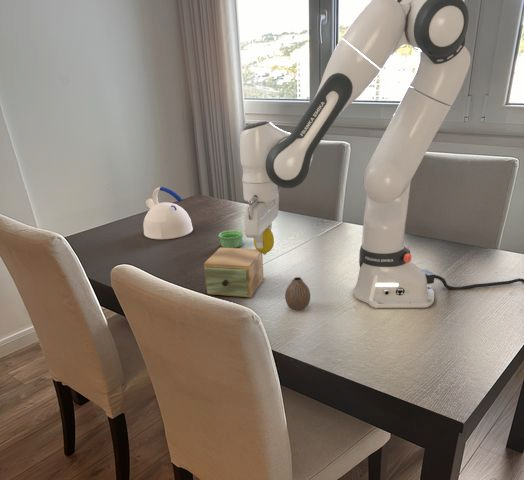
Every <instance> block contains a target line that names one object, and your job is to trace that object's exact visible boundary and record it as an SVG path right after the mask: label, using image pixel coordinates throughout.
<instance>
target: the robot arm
mask: <svg viewBox="0 0 524 480" xmlns="http://www.w3.org/2000/svg"><path fill="white" fill-rule="evenodd" d="M469 19H470V15H469V9H468V6H467V4H466V2H465V1H464V0H370V1H368V2H367V4H365V6H364V7H363V8H362V9H361V11H359V13H358V14H357V15H356V17H355V18H354V19H353V21H352V22H351V23H350V25H349V26H348V28H347V29H346V30H345V31H344V33H343V35H342V37H341V38H340V40H338V43H337V44H336V46H335V48H334V50H333V52H332V53H331V56H330V57H329V60H328V62H327V64H326V67H325V69H324V72H323V75H322V78H321V81H320V84H319V86H318V89H317V92H316V93H315V96H314V98H313V99H312V102H310V104H309V106H308V108H307V109H306V111H305V112H304V114H303V115H302V117H301V119H300V120H299V121H298V123H297V124H296V126H295V128H294V129H293V130H292V131H291V132H289V131H286V130H283V129H281V128H279V127H277V126H276V125H274V124H273V123H272V122H271V121H268V120H262V121H259V122H254V123H252V124H248V125H246V126H245V127H244V128H243V129H242V131H241V132H240V134H239V135H240V136H239V159H240V165H241V169H242V178H241V183H242V193H243V200H244V201H245V202H247V203H248V204H247V205H246V206H245V208H244V213H243V223H244V224H243V225H244V235H245V237H246V238H251V239H253V240H254V239H255V241H256V247H257V248H259V249H262V248H263V247H264V240H263V238H262V236H263V232H264V231H265V230H266V229H267V228H269V229H270V230H271V231H272V227H273V222H274V221H275V219H277V217H278V215H279V208H280V206H279V205H280V195H279V192H280V191H281V188H283V189H293V188H295V187H298V186H300V185H301V184H303V183H304V181H305V180H306V178H307V176H308V173H309V170H310V167H311V166H312V164H313V163H312V162H313V160H314V153H315V151H316V149H317V147H318V146H319V144H320V143H321V141H322V140H323V138H324V137H325V136H326V134H327V133H328V131H329V130H330V128H331V126H332V125H333V124H334V122H335V121H336V120H337V119H338V117H339V116H340V115H341V114H342V113H343V112H344V110H346V109H347V108H348V107H349V106H350V105H351V104H352V103H354V102H355V101H356V100H357V99H358V98H359V97H360V96H361V95H362V94H363V93H364V92H365V91H366V90H367V89H368V88H369V87H370V85H371V84H372V83H373V82H374V81H375V80H376V78H377V77H378V76H379V75H380V73H381V72H382V70H383V68H384V67H385V65H386V64H387V63H388V61H389V59H391V56H393V55H394V54H395V52H396V51H397V50H399V49H401V48H402V47H404V46H406V45H408V46H410V47H411V48H412V49H414V50H416V51H419V52H418V53H419V60H418V64H417V68H416V71H415V73H414V74H413V76H412V77H411V80H410V82H409V83H408V85H407V88H406V89H405V92H404V93H403V96H402V98H401V100H400V101H399V104H398V105H397V108H396V110H395V111H394V113H393V116H392V117H391V119H390V121H389V124H388V125H387V127H386V129H385V131H384V133H383V134H382V137H381V139H380V141H379V143H378V144H377V147H376V148H375V150H374V152H373V154H372V155H371V158H370V159H369V162H368V163H367V166H366V168H365V169H364V172H363V176H362V177H363V178H362V183H363V184H362V185H363V189H364V192H365V194H366V199H365V207H364V214H363V221H362V238H361V245H360V248H359V253H358V254H359V255H358V256H359V257H358V263H359V269H358V270H359V271H358V274H357V275H358V276H357V280H356V283H355V287H354V289H353V296H354V297H355V298H356V299H358V300H359V301H361V302H363V303H366V304H367V305H369V306H370V307H372V308H374V309H386V308H387V309H393V308H394V309H408V308H409V309H411V308H412V309H418V308H419V309H422V308H423V309H424V308H429V307H431V306H432V305H433V304H434V302H435V290H434V289H433V287H431V286H430V285H432V284H434V283H435V279H437V280H439V281H440V282H442V285H443V287H444V288H445V289H448V290H451V291H454V290H458V291H459V290H469V289H474V288H484V287H485V288H486V287H494V286H495V287H496V286H502V285H503V286H504V285H511V284H515V283H523V284H524V278H515V279H510V280H505V281H494V282H484V283H473V284H468V285H464V286H451V285H449V284H448V283H447V281H446V279H445V278H444V277H442V276H441V275H438V274H435V273H433V272H432V271H430V270H429V269H428V268H423V269H422V268H420V267H419V266H417V265H416V264H415V263H413V261H412V254H411V250H410V247H409V246H407V247H406V246H405V245H404V243H405V231H406V223H407V215H408V208H409V207H408V206H409V198H410V197H409V196H410V189H411V182H412V179H413V177H414V175H415V174H416V173H417V170H418V168H419V166H420V164H421V163H422V161H423V159H424V157H425V155H426V153H427V151H428V150H429V147H430V146H431V144H432V142H433V140H434V138H435V136H436V135H437V133H438V131H439V129H440V127H441V125H442V124H443V122H444V120H445V118H446V116H447V115H448V114H449V111H450V110H451V108H452V106H453V104H454V102H455V101H456V99H457V97H458V95H459V93H460V90H461V89H462V86H463V84H464V82H465V79H466V78H467V75H468V72H469V69H470V65H471V61H472V57H471V54H470V51H469V50H468V49H467V47H466V46H465V45H466V37H467V36H466V35H467V32H468V28H469V21H470V20H469Z"/></svg>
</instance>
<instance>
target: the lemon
mask: <svg viewBox="0 0 524 480" xmlns="http://www.w3.org/2000/svg"><path fill="white" fill-rule="evenodd" d="M262 238H263V240H264V247H263V248H262V249H259V248H257V247H256V241H255V239H254V238H253V246H254V249H257V250H258V251H259V252H261V253H262V255H267V253H269V252H271V251H272V250H273V248H274V244H275V238H274V233H273V232H272V229H271V230H270V229H269V228H267V229H266V230H265V231H264V232H263V236H262Z"/></svg>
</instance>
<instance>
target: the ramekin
mask: <svg viewBox="0 0 524 480" xmlns="http://www.w3.org/2000/svg"><path fill="white" fill-rule="evenodd" d="M243 235H244V233H243V232H242V230H241V231H240V230H237V229H235V230H232V229H230V230H224V231H221V232H220V233H219V234H218V237H219V241H220V247H221V248H239V247H240V248H241V246H242V245H243Z"/></svg>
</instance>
